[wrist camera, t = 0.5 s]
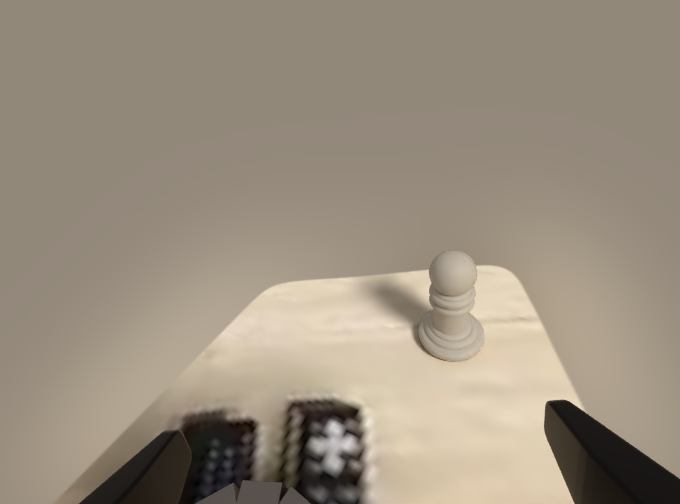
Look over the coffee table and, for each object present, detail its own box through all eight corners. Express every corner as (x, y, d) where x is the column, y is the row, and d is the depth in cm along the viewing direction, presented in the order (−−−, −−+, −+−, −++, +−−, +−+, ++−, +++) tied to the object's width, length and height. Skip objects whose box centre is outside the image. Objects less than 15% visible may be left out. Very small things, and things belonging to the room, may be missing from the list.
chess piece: (408, 324, 30) (402, 247, 25) (460, 305, 31) (466, 226, 26) (438, 373, 26) (439, 295, 21) (498, 350, 27) (515, 268, 21)
